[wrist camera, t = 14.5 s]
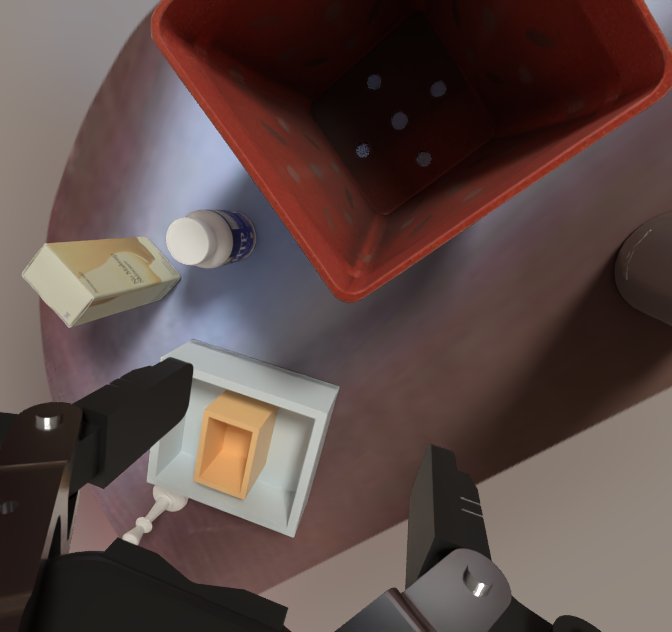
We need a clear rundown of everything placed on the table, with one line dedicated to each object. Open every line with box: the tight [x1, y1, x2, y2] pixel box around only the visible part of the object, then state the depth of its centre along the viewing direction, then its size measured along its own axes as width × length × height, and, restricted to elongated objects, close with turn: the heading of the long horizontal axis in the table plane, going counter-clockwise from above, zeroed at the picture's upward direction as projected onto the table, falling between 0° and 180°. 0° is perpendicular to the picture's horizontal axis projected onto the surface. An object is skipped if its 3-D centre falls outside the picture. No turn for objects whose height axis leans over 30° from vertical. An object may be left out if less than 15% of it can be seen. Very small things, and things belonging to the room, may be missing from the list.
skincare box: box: [22, 236, 181, 328], centre depth 38 cm, size 6×4×12 cm
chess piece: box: [123, 485, 188, 545], centre depth 47 cm, size 5×5×10 cm
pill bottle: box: [166, 210, 256, 269], centre depth 36 cm, size 5×5×9 cm
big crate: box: [147, 339, 340, 538], centre depth 43 cm, size 18×16×6 cm
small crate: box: [193, 389, 279, 500], centre depth 42 cm, size 6×9×6 cm, turn 166°
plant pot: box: [151, 0, 672, 303], centre depth 27 cm, size 19×19×17 cm
